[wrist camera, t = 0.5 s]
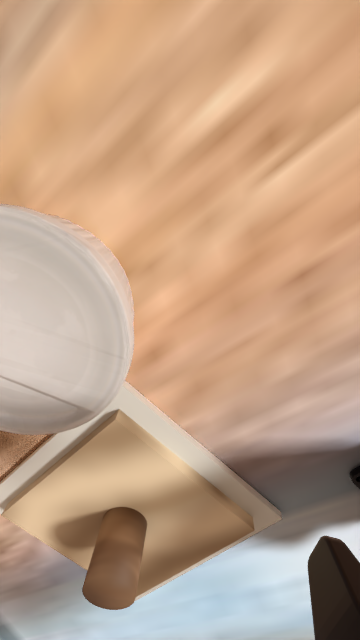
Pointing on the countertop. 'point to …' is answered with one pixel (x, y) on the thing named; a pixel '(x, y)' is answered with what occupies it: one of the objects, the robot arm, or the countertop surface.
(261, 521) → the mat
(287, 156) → the countertop surface
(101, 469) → the board
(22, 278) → the ramekin
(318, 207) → the countertop surface
